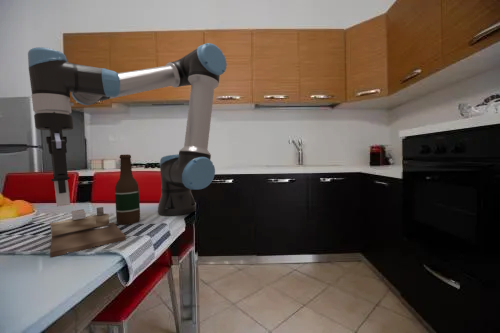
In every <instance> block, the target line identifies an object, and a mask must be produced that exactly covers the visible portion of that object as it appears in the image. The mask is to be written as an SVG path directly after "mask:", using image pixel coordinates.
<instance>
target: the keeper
mask: <svg viewBox="0 0 500 333" xmlns="http://www.w3.org/2000/svg"><path fill="white" fill-rule="evenodd" d="M86 217H87V215H86V212H85V209H77V210H76V209H75V210H71V218H72V219H73V220H76V219H83V218H86ZM108 227H110V224H108V225H105V226H100V227H93V228H92V229H93V230H99V229H105V228H108Z"/></svg>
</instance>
